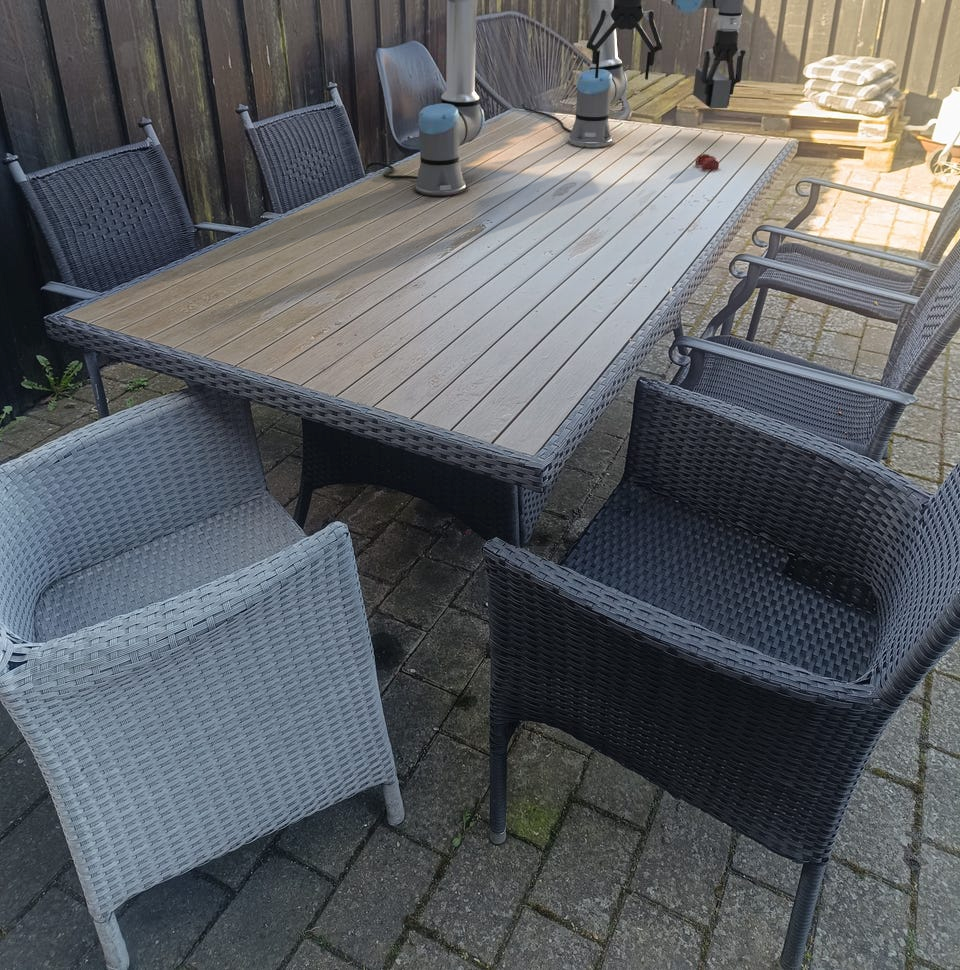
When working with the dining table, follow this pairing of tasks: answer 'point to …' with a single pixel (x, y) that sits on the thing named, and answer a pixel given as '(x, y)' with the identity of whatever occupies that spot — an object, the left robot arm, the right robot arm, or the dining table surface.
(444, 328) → the dining table surface
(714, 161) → the dental model
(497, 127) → the dining table surface
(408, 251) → the dining table surface
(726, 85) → the bar
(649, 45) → the left robot arm
